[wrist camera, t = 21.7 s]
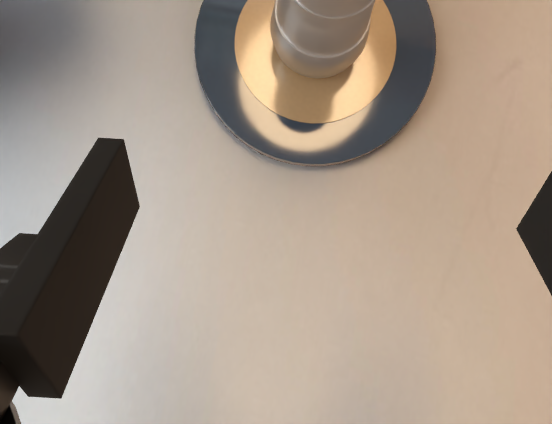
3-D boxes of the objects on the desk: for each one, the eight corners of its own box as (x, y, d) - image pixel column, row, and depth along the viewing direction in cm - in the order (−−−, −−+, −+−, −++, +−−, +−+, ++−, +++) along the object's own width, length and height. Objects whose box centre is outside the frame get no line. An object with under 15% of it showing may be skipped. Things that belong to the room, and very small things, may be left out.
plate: (149, 40, 33) (143, 32, 31) (323, -109, 33) (325, -123, 32) (304, 215, 32) (305, 214, 31) (478, 60, 33) (487, 53, 31)
